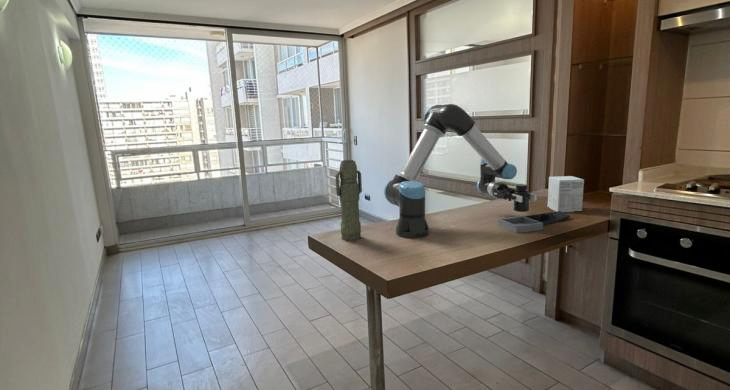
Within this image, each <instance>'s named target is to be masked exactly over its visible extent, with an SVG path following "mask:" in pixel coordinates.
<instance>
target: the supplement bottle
mask: <svg viewBox="0 0 730 390" xmlns="http://www.w3.org/2000/svg"><path fill="white" fill-rule="evenodd" d="M515 189H517V190H516V191H514V194H516V195H520V196H522V202H518V201H515V200H513V206H512V207H513V211H515V212H519V213H524V212H525V213H526V212H529V210H530V199H529V195H530V194H529V190H528V184H521V183H520V184H519V183H518V184H515Z"/></svg>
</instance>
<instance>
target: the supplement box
mask: <svg viewBox="0 0 730 390" xmlns="http://www.w3.org/2000/svg"><path fill="white" fill-rule="evenodd" d="M584 185H585V179H583V178H580V177H576V176H574V175H573V176H572V175H566V176H565V175H564V176H561V175H560V176H557V175H556V176H548V193H547V208H548V207H549V209H551V211H552V210H553V212H558V211H561V212H563V213H575V212H574V211H583V200H584Z"/></svg>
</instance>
